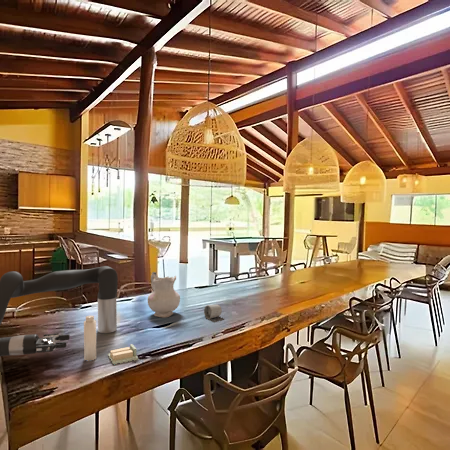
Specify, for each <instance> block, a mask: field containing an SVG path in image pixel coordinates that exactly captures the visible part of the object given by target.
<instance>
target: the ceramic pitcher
mask: <svg viewBox="0 0 450 450" xmlns="http://www.w3.org/2000/svg"><path fill="white" fill-rule="evenodd" d="M176 280H177V275H175V276H174V277H173V276H165V277H158V274H157V271H153V272H151V275H150V286H151V289H152V292H150V294H149V295H148V297H147V305H148V307H149V309H150V310H151V311H152V312H154V313H153V316H155V317H159V318H163V319H164V318H169V317H171V316H172V315H174V312H173V311H175V310H177V309H178V307H179V305H180V304H181V303H180V302H181V295H180V294H179V292H177V291H176V290H175V289H174V285H175V282H176Z"/></svg>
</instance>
